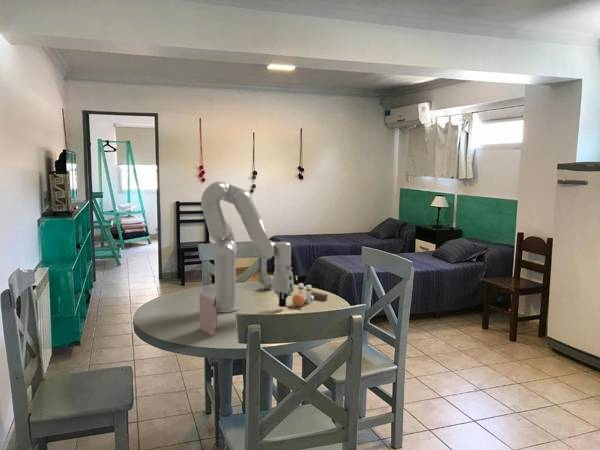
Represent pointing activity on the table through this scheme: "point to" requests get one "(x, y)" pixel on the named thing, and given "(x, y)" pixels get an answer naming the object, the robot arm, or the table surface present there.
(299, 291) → the pin
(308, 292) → the pin
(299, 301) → the ball
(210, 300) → the greeting card
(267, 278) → the game die
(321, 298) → the backstop wall
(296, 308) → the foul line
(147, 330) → the table surface
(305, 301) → the front pin
